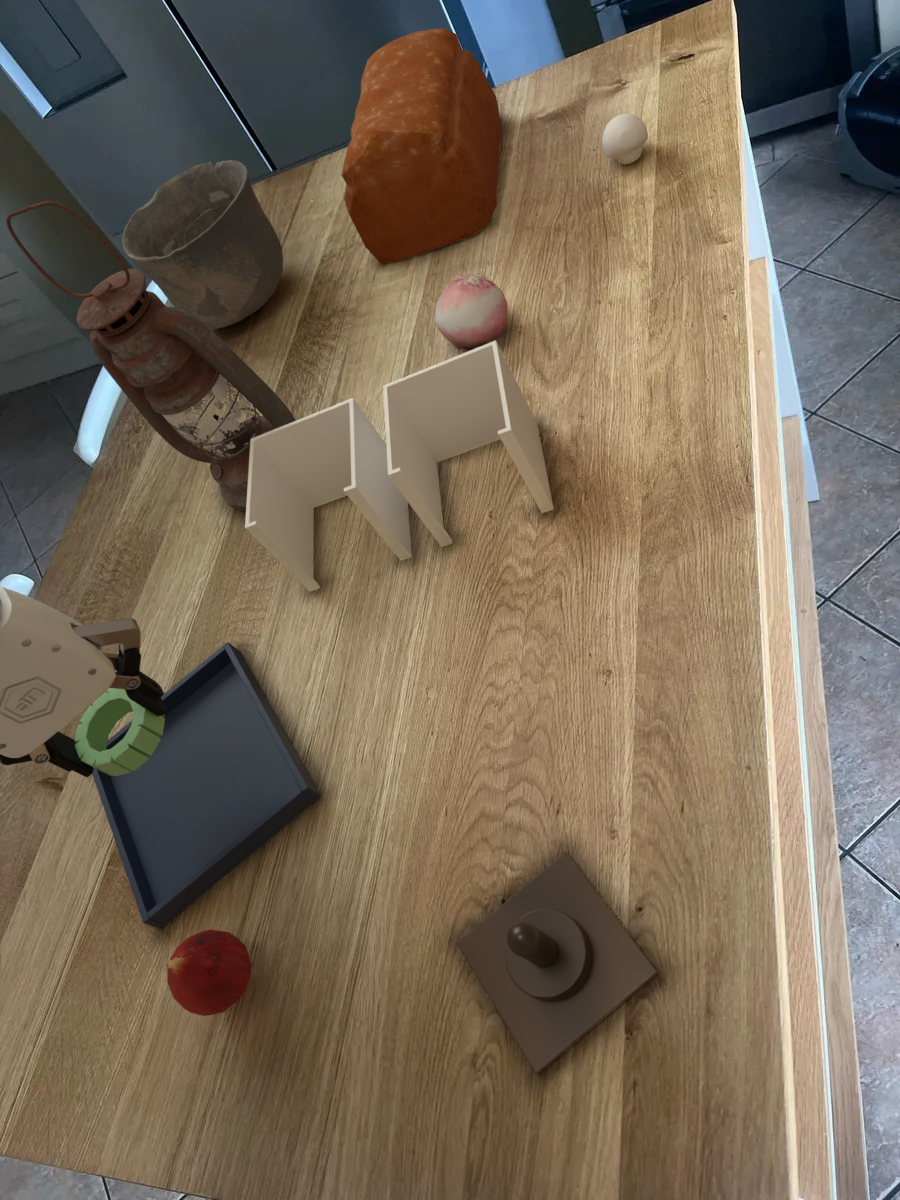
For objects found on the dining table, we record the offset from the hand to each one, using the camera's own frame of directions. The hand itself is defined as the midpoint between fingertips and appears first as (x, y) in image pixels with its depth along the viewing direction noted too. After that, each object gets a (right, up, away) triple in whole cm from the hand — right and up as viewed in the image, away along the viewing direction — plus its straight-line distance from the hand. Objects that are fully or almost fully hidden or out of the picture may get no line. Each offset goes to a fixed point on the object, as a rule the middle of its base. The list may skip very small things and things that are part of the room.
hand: (122, 731), depth 73 cm
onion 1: (+10, -19, -3) cm, 22 cm away
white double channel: (+24, +19, +15) cm, 34 cm away
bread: (+25, +62, +42) cm, 79 cm away
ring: (0, 0, +1) cm, 1 cm away
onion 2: (+30, +38, +24) cm, 54 cm away
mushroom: (+47, +60, +29) cm, 82 cm away
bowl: (0, +50, +47) cm, 68 cm away
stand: (+33, -13, -12) cm, 38 cm away
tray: (+4, -5, +8) cm, 11 cm away
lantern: (+6, +25, +27) cm, 37 cm away
